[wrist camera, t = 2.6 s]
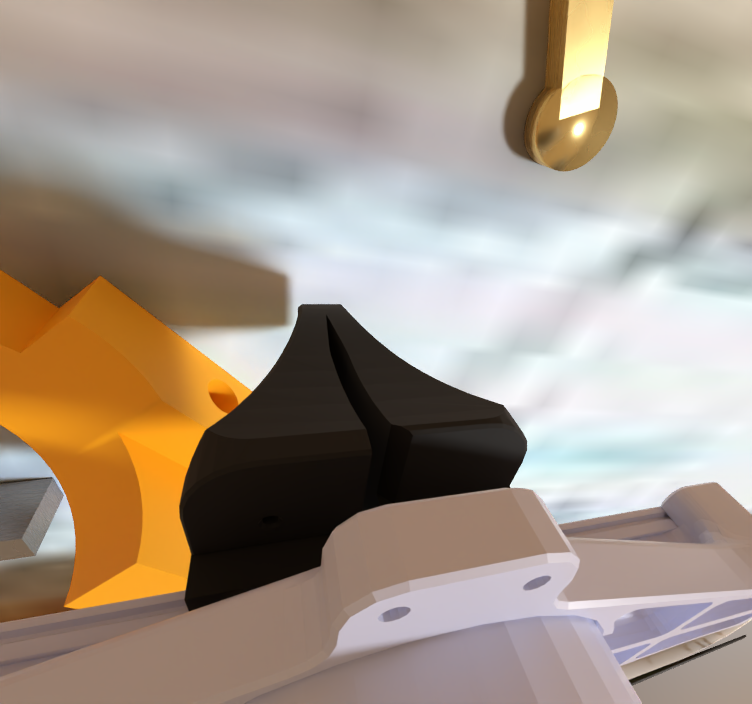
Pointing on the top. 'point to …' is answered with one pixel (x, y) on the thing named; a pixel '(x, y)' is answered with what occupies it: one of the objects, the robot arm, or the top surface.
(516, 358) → the top surface
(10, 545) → the hitch bracket
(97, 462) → the pipe clamp
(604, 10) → the brass spoon
